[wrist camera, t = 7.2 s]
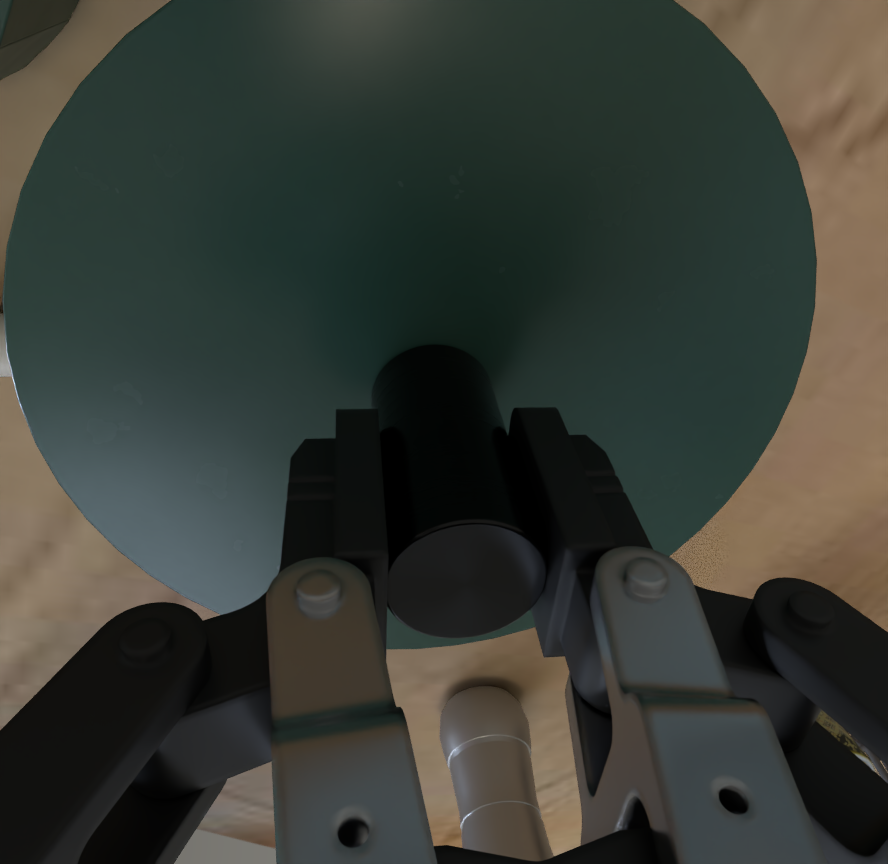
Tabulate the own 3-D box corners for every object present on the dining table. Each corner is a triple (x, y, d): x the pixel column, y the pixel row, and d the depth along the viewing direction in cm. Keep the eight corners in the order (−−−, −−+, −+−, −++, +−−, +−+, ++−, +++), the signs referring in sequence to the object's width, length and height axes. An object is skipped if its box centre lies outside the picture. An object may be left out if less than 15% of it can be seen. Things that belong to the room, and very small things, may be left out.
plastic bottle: (476, 662, 52) (538, 999, 36) (540, 693, 55) (623, 1016, 39) (417, 708, 55) (450, 1043, 38) (481, 735, 58) (537, 1056, 42)
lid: (-105, -119, 10) (-558, -157, 5) (914, -43, 12) (1329, -16, 7) (115, 627, 19) (31, 886, 14) (682, 601, 21) (791, 820, 16)
